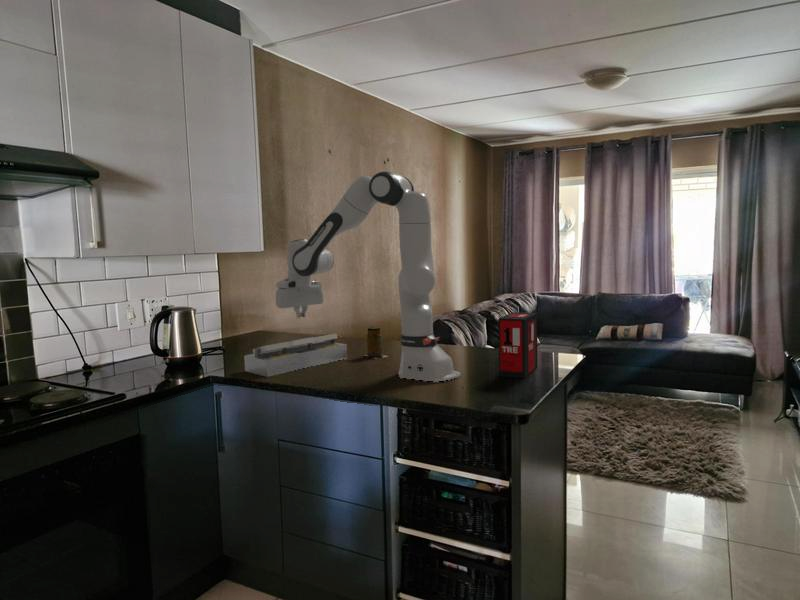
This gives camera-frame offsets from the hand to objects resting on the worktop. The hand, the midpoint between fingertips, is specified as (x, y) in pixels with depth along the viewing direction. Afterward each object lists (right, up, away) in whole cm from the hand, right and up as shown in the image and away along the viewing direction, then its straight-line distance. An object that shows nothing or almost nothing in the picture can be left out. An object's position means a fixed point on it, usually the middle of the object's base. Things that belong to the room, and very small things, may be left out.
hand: (301, 317), depth 213 cm
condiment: (+28, -17, +16) cm, 36 cm away
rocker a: (+6, -9, +12) cm, 16 cm away
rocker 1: (-10, -11, -5) cm, 16 cm away
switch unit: (-2, -19, +4) cm, 19 cm away
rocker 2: (-2, -10, +3) cm, 11 cm away
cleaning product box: (+80, -19, -18) cm, 84 cm away
